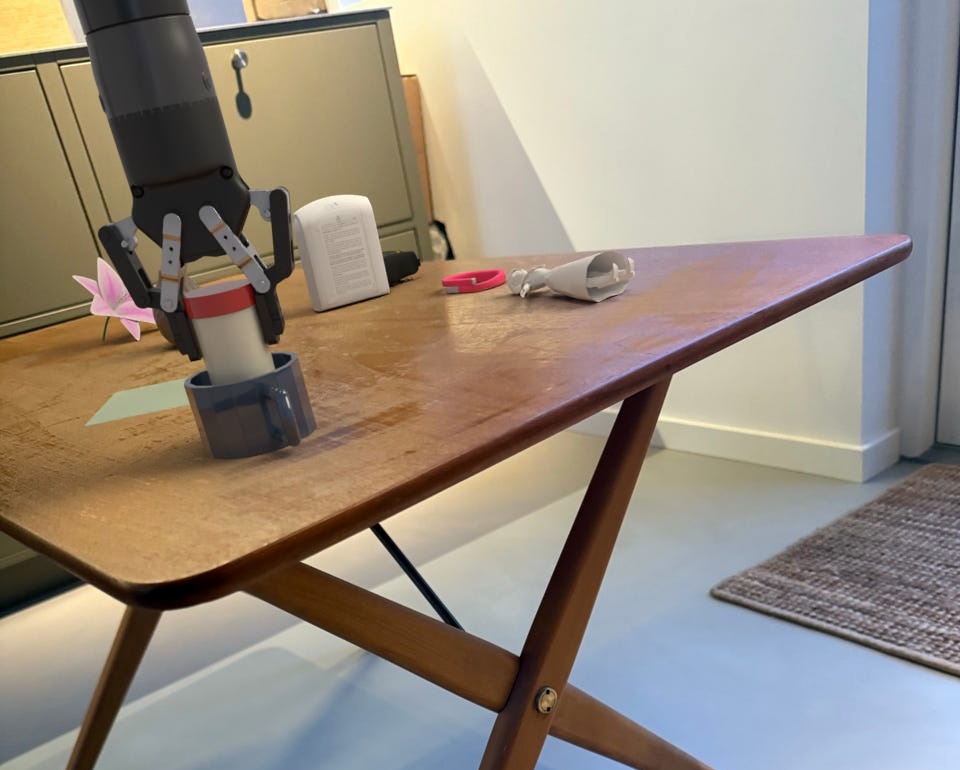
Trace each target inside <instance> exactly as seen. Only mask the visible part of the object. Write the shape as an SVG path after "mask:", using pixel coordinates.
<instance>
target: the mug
mask: <svg viewBox="0 0 960 770" xmlns="http://www.w3.org/2000/svg"><path fill="white" fill-rule="evenodd" d="M271 354H272V358H273V362H274V365H275V370H273V371H271V372H268V373H265V374H262V375H259V376H256V377H253V378H249V379H245V380H241V381H237V382H233V383H227V384H220V385H213V386H212V385H211V382H210V379H209V376H208V372H207V369H206V368H203V369H201V370H198V371H196V372H194V373H193V374H191V375H190V376H188V377H189V378H188V377H186V378H187V379H186V380H185V382H184V388H185V391H186V394H187V397H188V400H189V403H190V405H189V406H190V410H191V412H192V415H193V418H194V422H195V424H196V428H197V431H198V433H199V437H200V439H201V442H202V445H203V449H204V451H205V454H206V455H207V456H209V457H210V458H212V459H215V460H216V459H217V460H237V459H246V458H251V457H258V456H261V455H265V454H269V453H272V452H277V451H279V450H282V449H284V448H287V447H292V448H296V447H298V446H299V445H300V444H301V443H302V441H303V440H304V439H306V438H308V437H309V436H311V435H312V434H313V433H314V432H315V431H316V430H317V427H318V426H317V421H316V417H315V414H314V409H313V406H312V403H311V398H310V395H309V392H308V388H307V384H306V380H305V378H304V373H303V369H302V365H301V362H300V358H299V356H298V353H297V352H292V351H286V350H285V351H271Z"/></svg>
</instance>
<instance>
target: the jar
mask: <svg viewBox="0 0 960 770" xmlns="http://www.w3.org/2000/svg"><path fill="white" fill-rule="evenodd" d="M200 287H201V288H198V289H195V290H192V291H190V292H187V293H185V294H184V295H182V296H181V298H182V302H183V305H184V308H185V311H186V314H187V317H188V318H190V319H191V321H192V324H193V327H194V331H195V334H196V337H197V340H198V344H199V347H200V350H201V353H202V356H203V357H202V359H203V363H204V366H205V369H207V372H208V376H209V379H210V382H211V385H212V386H213V385H220V384H227V383H233V382H237V381H241V380H245V379H249V378H253V377H256V376H259V375H262V374H265V373H268V372H271V371H273V370H275V365H274V362H273V358H272V354H271V352H272V351H271V347H270V345H268V342H267V339H266V335H265V332H264V328H263V325H262V321H261V318H260V314H259V311H258V307H257V304H256V300H255V297H254V296H255V295H256V294H257V291H256V289H255V288H254V287H253V285H252V284H251V283H250V281H249V280H248V279H247V278H240V279H232V280H225V281H221V282H217V283H213V284H209V285H205V286H200Z"/></svg>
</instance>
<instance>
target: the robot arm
mask: <svg viewBox="0 0 960 770" xmlns="http://www.w3.org/2000/svg"><path fill="white" fill-rule="evenodd" d="M72 2H73V5H74V8H75V11H76V15H77V18H78V21H79V24H80V26H81V30H82V32H83V35H84V36H85V37H84V40H85V43H86V46H87V51H88V56H89V61H90V67H91V71H92V76H93V80H94V82H95V86H96V89H97V92H98V101H99V102H100V106H101V109H102V112H103V113H104V114H105V117H106V119H107V122H108V126H109V128H110V132H111V136H112V138H113V141H114V144H115V147H116V150H117V153H118V157H119V159H120V163H121V165H122V166H121V167H122V169H123V171H124V175H125V178H126V181H127V184H128V187H129V190H130V194H131V197H132V205H131V211H130V213H131V214H130V215H129V216H127V217H125V218H123V219H120V220H118V221H116V222H115V221H113V222H109V223H106V224H104V225H103V226H101V227H100V228H99V229H98V230H97V238H98V240H99V241H100V243H101V245H102V248H103V249H104V251H105V252H106V254H107V256H108V258H109V259H110V262H111V263H112V265H113V267H114V270H115V271H116V273H117V274H118V276H119V277H120V278H121V280H122V282H123V284H124V287H126V289H127V290H128V292H129V294H130V296H131V298H132V300H133V301H134V303H135V305H136V306H137V307H139V308H141V309H145V308H153V309H159V310H161V311H163V312H164V313H165V314H166V316H167V318H168V321H169V324H170V327H171V331H172V334H173V336H174V340H175V343H176V346H175V347H176V349H177V350H178V352H179V354H180V355H181V356H186V355H187V356H188V359H189V362H190V363H192V362H193V363H194V362H198V361H201V360H202V359H203V356H202V353H201V350H200V347H199V344H198V340H197V337H196V334H195V331H194V327H193V324H192V321H191V319H190V318H188V317H187V314H186V311H185V308H184V305H183V302H182V298H181V296H182V295H184V285H185V275H187V269H188V264H190V263H194V262H196V261H198V260H200V259H202V258H204V257H210V258H218V257H222V256H228V257H229V259H230V260H231V261H232V263H233V264H234V265H235V266H236V268H238V269H239V270H240V271H241V272H242V273H243V275H244V276H245V277H246V279H248V280H249V281H250V283H251V284H252V285H253V287H254V288H255V289H256V291H257V294H256V295H255V296H254V297H255V300H256V304H257V307H258V311H259V314H260V318H261V321H262V325H263V328H264V332H265V335H266V339H267V342H268V345H269V346H273V345H278V344H280V341H281V335H284V332H285V326H286V321H285V318H284V314H283V310H282V307H281V303H280V299H279V295H278V293H277V286H278V284H280V283H282V282H283V281H285V280H286V279H288V278H290V277H291V275H292V274H293V272H294V270H295V267H296V262H295V261H296V260H295V247H294V231H293V217H292V208H291V207H292V206H291V205H292V204H291V194H290V191H289V189H288V188H287V187H285V186H282V185H279V186H277V187H275V188H273V189H272V188H268V189H264V188H263V189H261V188H259V189H257V188H253V189H251V188H250V186H249V185H248V183H246V182H245V180H244V179H243V177H242V176H241V174H240V172H239V169H238V166H237V162H236V158H235V155H234V152H233V148H232V145H231V142H230V137H229V133H228V131H227V126H226V124H225V119H224V116H223V111H222V108H221V105H220V101H219V97H218V93H217V89H216V86H215V82H214V79H213V76H212V73H211V69H210V65H209V62H208V59H207V55H206V52H205V49H204V47H203V46H204V45H203V44H202V41H201V40H200V37H199V34H198V32H197V29H196V27H195V24H194V21H193V18H192V16H191V10H190V7H189V4H188V0H72ZM251 206H255V207H256V208H257V209H258V211H259V214H260V217H261V219H262V220H263V221H265V222H267V223H270V224H271V225H270V226H271V237H272V249H273V261H274V263H272V264H271V265H269V266H267V265H266V263H265V262H264V261H263V260H262V258H261V257H260V255H259V254H258V251H257V250H256V248H255V246H254V245H253V244H252V242H251V241H250V240H249V238H248V237H247V236H246V234H245V232H244V231H243V229H244V227H245V224H246V222H247V219H248V216H249V212H250V210H251ZM138 230H139V231H140V232H141V233H142V234H144V235H145V236H147V238H148V239H150V240H151V241H152V242H153V243H154V244H156V245H157V246H158V247H159V248H160V249H161V262H160V263H161V265H160V270H161V278H162V284H161V289H159V288H155V286H154V284H153V282H152V280H151V278H150V277H149V274H148V273H147V271H146V269H145V267H144V265H143V263H142V262H141V259H140V258H139V255H138V254H137V252H136V251H135V250H136V249H137V248H138V246H139V239H138V237H137V232H138Z"/></svg>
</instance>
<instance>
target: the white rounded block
mask: <svg viewBox="0 0 960 770" xmlns="http://www.w3.org/2000/svg"><path fill="white" fill-rule="evenodd" d="M292 227H293V235H294V237H295V241H296V246H297V249H298V254H299V258H300V263H301V266H302V270H303V275H304V279H305V282H306V286H307V290H308V294H309V295H308V296H309V298H310V303H311V306H312V310H313V311H315V312H324V311H327V310H330V309H335V308H339V307H342V306H345V305H346V306H347V305H349V304H353V303H358V302H361V301H365V300H368V299H372V298H376V297H379V296H384V295H388V294H390V292H391V291H390V284H388V280H387V275H386V270H385V265H384V261H383V256H382V252H383V251H382V247H381V242H380V238H379V232H378V227H377V223H376V219H375V214H374V210H373V206H372V204H371V202H370V200H369V198H368V197H367V196H363V195H360V194H359V195H357V194H337V195H329V196H325V197H322V198H319V199H315V200H313V201H311V202H308V203H307V204H305V205H303V206H302V207H301V208H298V210H296V211H295V212H293V213H292Z"/></svg>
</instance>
